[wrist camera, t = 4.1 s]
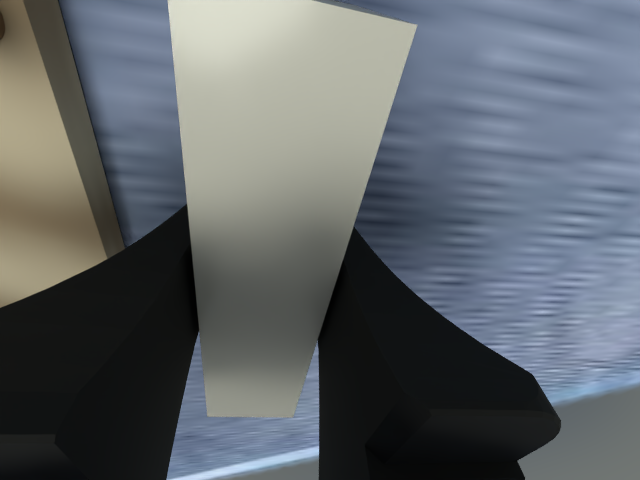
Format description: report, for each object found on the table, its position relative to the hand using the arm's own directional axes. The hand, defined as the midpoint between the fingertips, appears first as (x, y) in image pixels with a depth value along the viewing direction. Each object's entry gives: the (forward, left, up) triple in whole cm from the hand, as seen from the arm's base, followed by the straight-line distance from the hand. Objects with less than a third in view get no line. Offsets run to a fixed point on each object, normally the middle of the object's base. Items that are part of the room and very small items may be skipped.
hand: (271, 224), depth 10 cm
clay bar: (0, 0, -2) cm, 2 cm away
